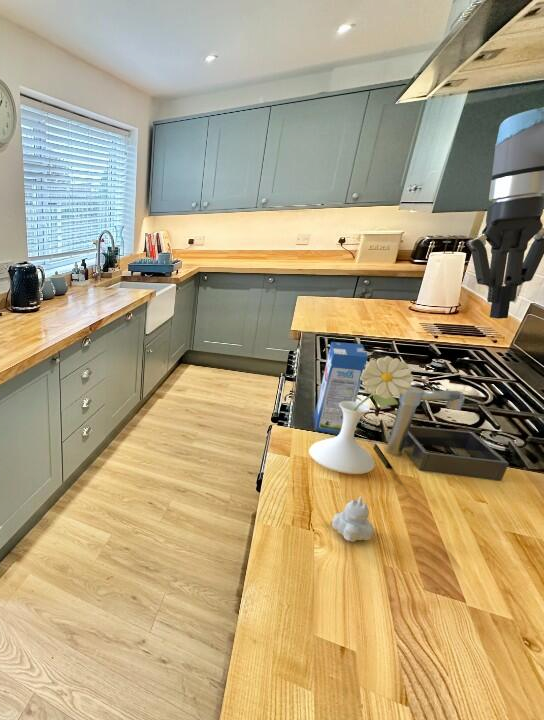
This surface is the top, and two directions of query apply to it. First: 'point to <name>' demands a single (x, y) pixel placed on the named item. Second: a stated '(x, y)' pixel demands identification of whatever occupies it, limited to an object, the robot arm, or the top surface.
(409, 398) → the spout
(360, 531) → the grey creature figurine
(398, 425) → the faucet base
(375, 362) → the flower in vase
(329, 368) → the milk carton
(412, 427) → the dark grey open tray
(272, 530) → the top surface
